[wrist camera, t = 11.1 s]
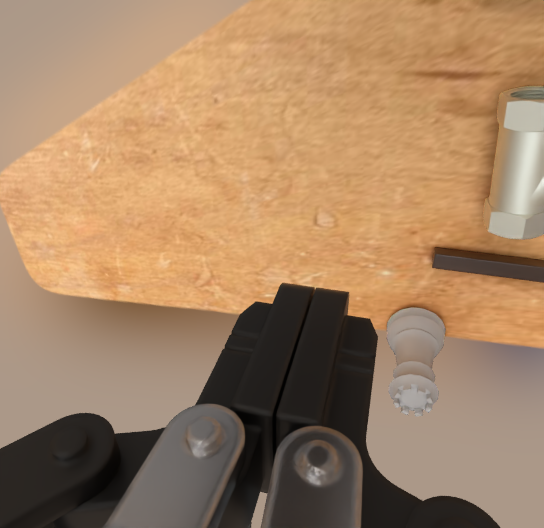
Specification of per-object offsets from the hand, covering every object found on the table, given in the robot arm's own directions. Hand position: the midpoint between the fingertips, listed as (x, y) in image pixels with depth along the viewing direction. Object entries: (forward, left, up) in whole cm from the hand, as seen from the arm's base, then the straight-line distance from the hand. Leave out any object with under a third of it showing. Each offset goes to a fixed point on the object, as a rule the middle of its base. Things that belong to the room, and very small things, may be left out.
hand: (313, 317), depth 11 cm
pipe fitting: (+3, +10, -23) cm, 25 cm away
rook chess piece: (+18, +4, -23) cm, 30 cm away
